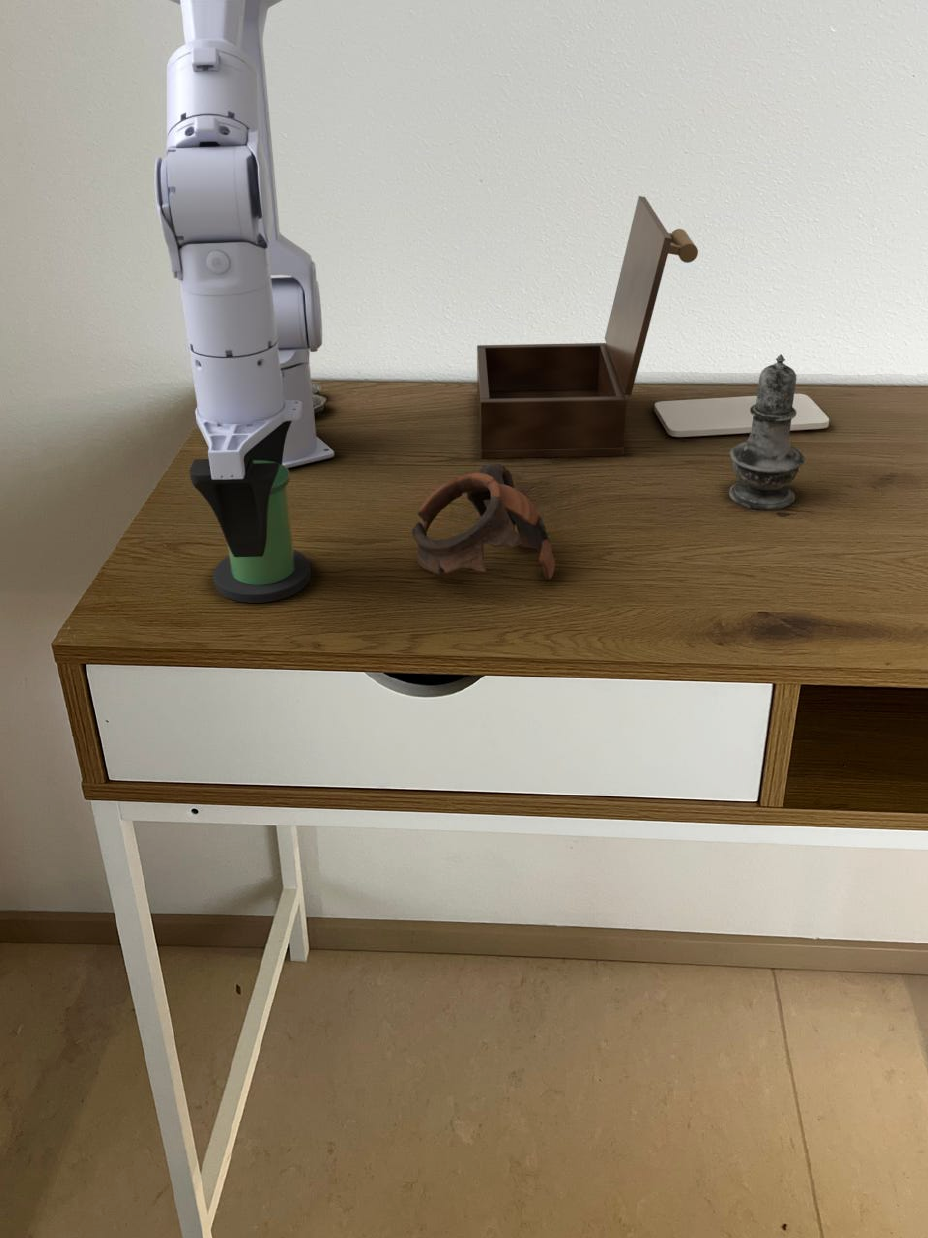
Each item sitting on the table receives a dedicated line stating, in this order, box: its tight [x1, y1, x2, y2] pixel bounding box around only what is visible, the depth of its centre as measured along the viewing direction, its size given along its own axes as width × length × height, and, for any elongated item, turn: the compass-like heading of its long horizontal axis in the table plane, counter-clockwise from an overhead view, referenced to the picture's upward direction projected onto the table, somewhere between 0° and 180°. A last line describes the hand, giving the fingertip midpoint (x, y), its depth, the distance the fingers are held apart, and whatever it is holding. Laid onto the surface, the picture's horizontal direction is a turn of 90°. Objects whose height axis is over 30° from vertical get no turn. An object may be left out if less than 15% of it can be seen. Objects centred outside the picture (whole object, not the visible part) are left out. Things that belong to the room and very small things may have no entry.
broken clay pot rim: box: [411, 462, 556, 581], centre depth 84 cm, size 12×10×8 cm
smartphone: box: [653, 393, 830, 438], centre depth 107 cm, size 7×1×15 cm
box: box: [476, 342, 628, 459], centre depth 106 cm, size 13×15×5 cm
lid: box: [604, 195, 699, 397], centre depth 101 cm, size 13×15×4 cm
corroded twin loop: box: [311, 381, 327, 415], centre depth 111 cm, size 5×8×1 cm, turn 13°
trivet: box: [213, 549, 312, 604], centre depth 84 cm, size 7×7×1 cm
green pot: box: [227, 460, 295, 585], centre depth 81 cm, size 5×5×8 cm
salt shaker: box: [728, 354, 805, 511], centre depth 91 cm, size 6×6×12 cm
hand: (256, 528), depth 82 cm, fingers open, 7 cm apart
